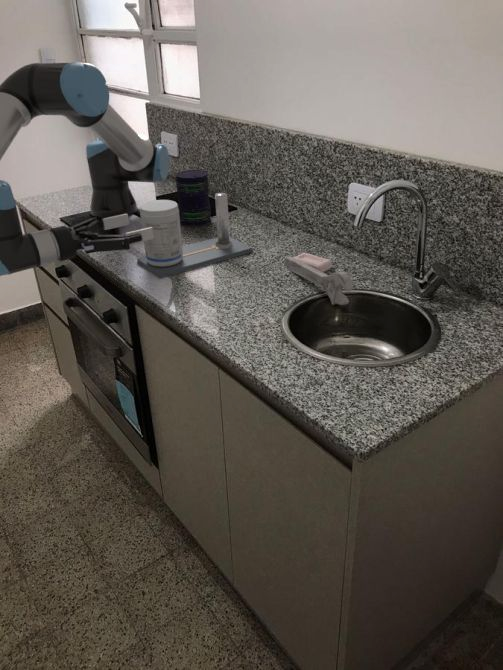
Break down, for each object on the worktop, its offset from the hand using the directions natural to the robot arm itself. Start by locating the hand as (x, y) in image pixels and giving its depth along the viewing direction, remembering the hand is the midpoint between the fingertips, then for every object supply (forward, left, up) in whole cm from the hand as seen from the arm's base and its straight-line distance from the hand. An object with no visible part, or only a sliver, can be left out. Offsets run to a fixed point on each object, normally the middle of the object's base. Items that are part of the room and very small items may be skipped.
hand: (140, 225), depth 135 cm
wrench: (+34, +27, -12) cm, 45 cm away
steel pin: (0, +24, -11) cm, 26 cm away
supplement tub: (0, +6, -11) cm, 12 cm away
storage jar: (-26, +29, -12) cm, 41 cm away
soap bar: (+24, +35, -13) cm, 44 cm away
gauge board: (0, +15, -12) cm, 19 cm away
